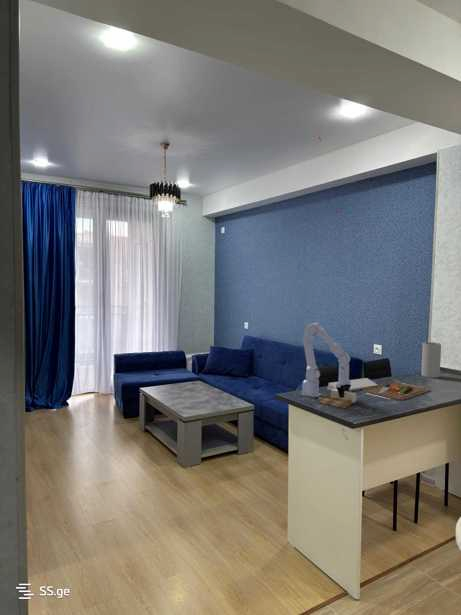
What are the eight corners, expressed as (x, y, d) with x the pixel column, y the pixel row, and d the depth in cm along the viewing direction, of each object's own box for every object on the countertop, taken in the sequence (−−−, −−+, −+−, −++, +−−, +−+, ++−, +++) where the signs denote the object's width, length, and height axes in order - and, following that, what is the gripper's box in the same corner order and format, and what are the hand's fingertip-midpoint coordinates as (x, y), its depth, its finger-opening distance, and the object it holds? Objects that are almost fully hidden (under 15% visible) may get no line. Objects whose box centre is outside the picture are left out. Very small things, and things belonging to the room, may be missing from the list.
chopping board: (399, 402, 237) (399, 397, 237) (358, 393, 258) (358, 388, 258) (433, 390, 266) (434, 386, 266) (394, 383, 287) (395, 378, 287)
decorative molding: (376, 391, 272) (365, 384, 281) (378, 385, 271) (367, 378, 279) (337, 397, 256) (327, 389, 265) (338, 390, 255) (328, 382, 263)
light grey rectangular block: (330, 398, 244) (331, 389, 243) (334, 396, 246) (334, 388, 246) (352, 403, 234) (352, 394, 233) (355, 401, 236) (356, 393, 236)
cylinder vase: (443, 378, 302) (444, 344, 301) (427, 378, 300) (429, 344, 299) (432, 374, 314) (434, 342, 313) (417, 374, 313) (419, 342, 311)
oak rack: (318, 402, 233) (318, 397, 233) (325, 399, 240) (325, 394, 240) (344, 408, 223) (344, 403, 223) (351, 404, 230) (351, 399, 230)
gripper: (344, 377, 231) (344, 401, 232) (355, 373, 242) (354, 396, 243) (333, 375, 236) (332, 398, 236) (344, 371, 247) (343, 394, 247)
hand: (343, 397), depth 240 cm, fingers closed on light grey rectangular block, 4 cm apart
